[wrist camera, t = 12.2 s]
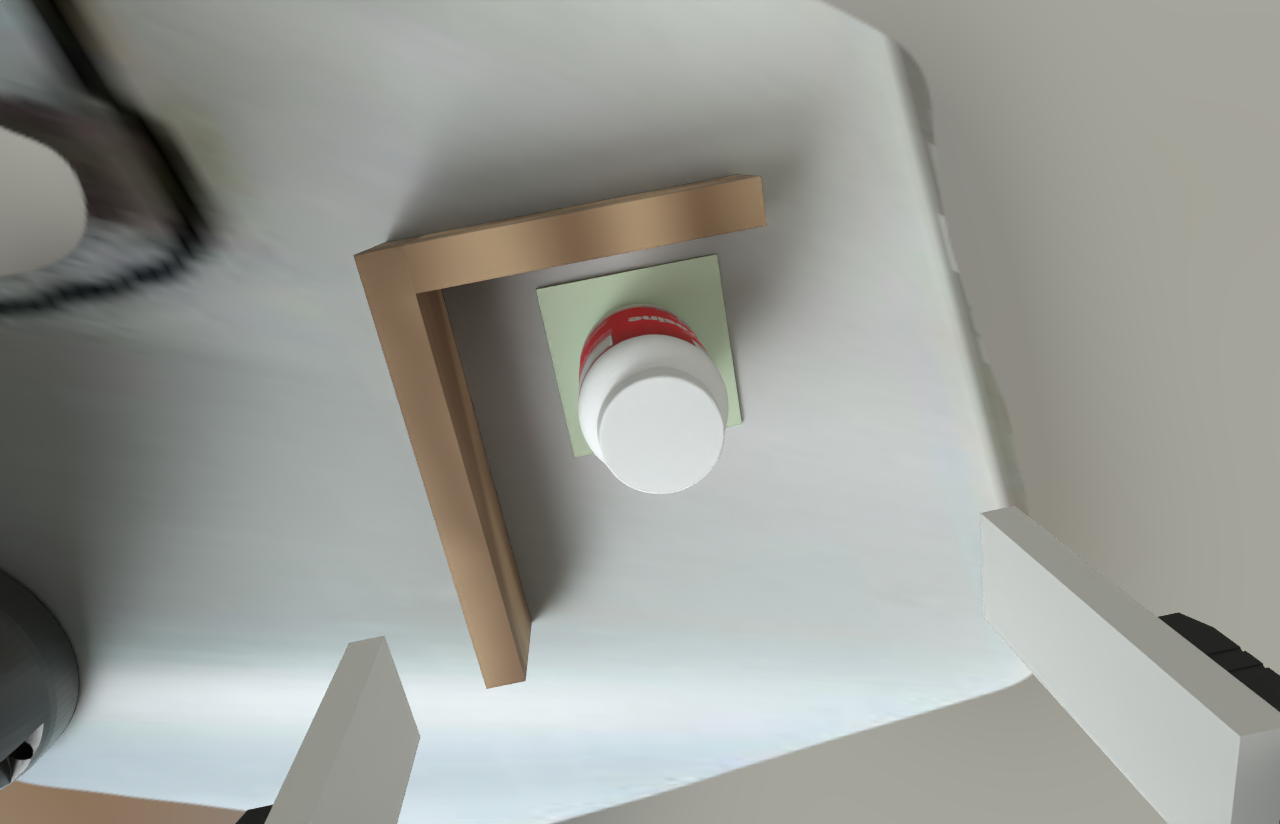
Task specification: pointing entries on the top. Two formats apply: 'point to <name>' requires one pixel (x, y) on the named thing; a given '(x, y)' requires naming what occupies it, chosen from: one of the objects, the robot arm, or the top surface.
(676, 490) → the pill bottle
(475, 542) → the corner barrier
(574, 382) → the pad
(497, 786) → the top surface
